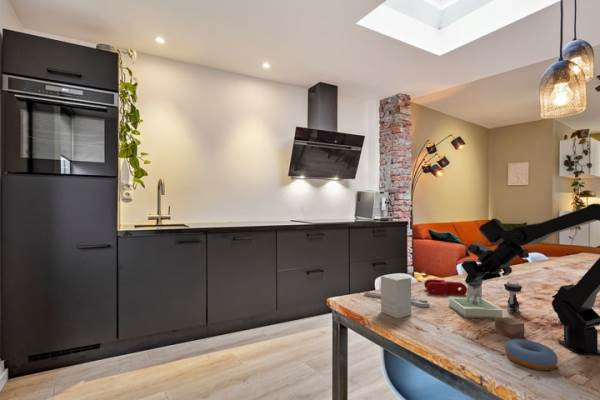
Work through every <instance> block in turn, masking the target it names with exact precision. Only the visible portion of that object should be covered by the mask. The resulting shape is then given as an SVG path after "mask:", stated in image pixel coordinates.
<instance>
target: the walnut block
mask: <svg viewBox="0 0 600 400" xmlns="http://www.w3.org/2000/svg"><path fill="white" fill-rule="evenodd" d="M494 332H495V333H497V334H499V335H502V336H504V337H506V338H508V339H510V340H514V339H520V338H525V322H522V321H520V320H517V319H514V318H512V317H509V316H505V317H503V316H502V318H496V319H494Z"/></svg>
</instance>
